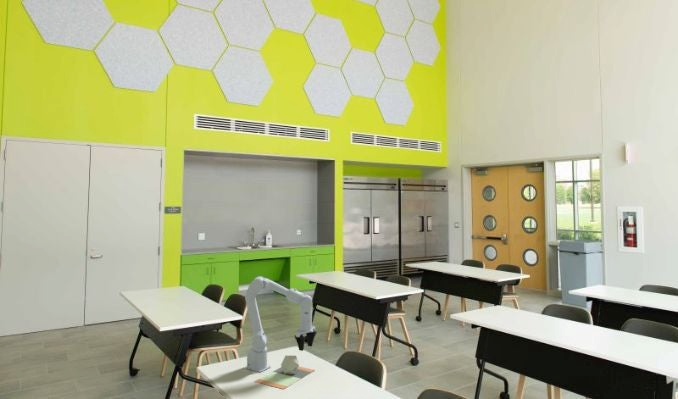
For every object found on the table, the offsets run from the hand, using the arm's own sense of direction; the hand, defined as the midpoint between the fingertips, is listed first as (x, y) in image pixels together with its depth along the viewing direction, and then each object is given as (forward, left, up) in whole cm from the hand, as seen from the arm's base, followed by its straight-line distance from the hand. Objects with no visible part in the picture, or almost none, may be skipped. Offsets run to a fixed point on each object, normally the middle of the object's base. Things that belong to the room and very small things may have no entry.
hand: (305, 348), depth 203 cm
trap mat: (-2, -13, -10) cm, 16 cm away
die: (-2, -10, -10) cm, 14 cm away
